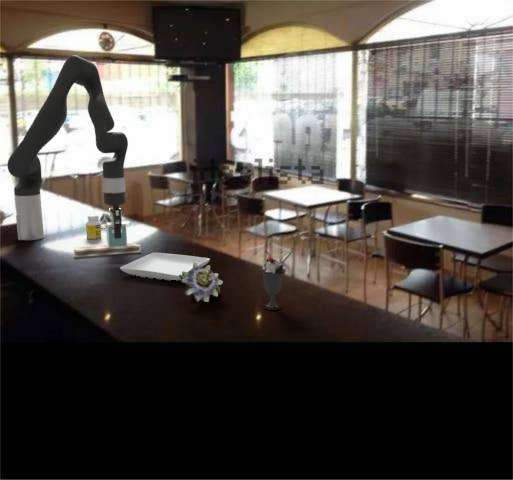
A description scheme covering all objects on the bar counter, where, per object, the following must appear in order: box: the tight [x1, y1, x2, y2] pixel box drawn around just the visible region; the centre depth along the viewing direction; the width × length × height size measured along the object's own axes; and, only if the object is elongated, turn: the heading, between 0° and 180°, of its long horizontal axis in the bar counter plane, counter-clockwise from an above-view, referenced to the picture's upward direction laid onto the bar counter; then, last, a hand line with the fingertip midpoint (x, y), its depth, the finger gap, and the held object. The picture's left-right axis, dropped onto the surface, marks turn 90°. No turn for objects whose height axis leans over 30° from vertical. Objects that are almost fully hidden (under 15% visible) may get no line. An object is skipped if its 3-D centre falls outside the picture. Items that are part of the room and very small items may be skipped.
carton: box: [106, 222, 128, 247], centre depth 202 cm, size 6×4×9 cm
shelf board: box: [73, 242, 142, 258], centre depth 201 cm, size 22×14×3 cm, turn 109°
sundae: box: [259, 250, 287, 308], centre depth 145 cm, size 7×7×15 cm
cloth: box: [83, 211, 131, 230], centre depth 249 cm, size 22×19×6 cm
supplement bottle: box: [85, 214, 102, 241], centre depth 217 cm, size 5×5×10 cm
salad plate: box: [119, 252, 211, 281], centre depth 178 cm, size 21×21×3 cm
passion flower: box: [179, 262, 224, 303], centre depth 153 cm, size 11×11×12 cm
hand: (116, 235), depth 202 cm, fingers open, 8 cm apart
